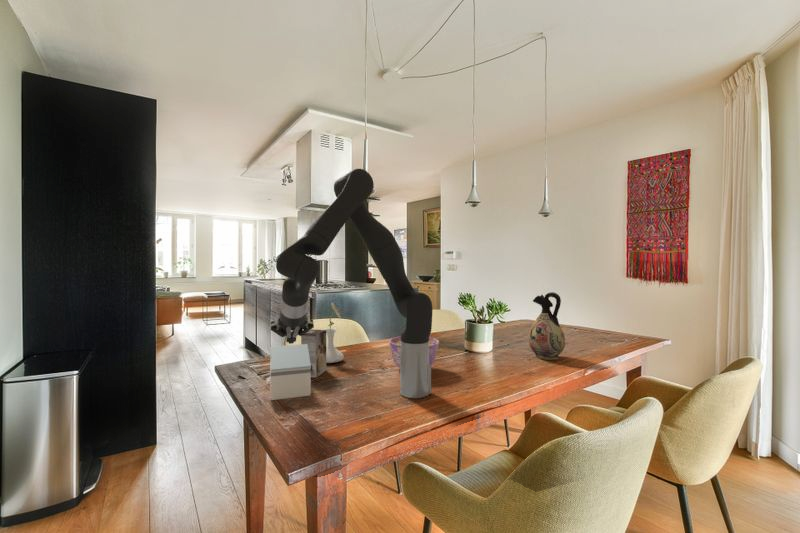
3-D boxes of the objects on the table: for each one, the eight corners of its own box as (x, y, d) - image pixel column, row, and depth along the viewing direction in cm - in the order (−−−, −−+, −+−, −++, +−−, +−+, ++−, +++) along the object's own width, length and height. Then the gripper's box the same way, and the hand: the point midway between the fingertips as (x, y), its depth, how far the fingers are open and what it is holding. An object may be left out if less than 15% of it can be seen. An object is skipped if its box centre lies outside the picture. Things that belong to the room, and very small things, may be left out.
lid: (307, 345, 124) (307, 343, 124) (310, 367, 115) (310, 365, 114) (270, 348, 120) (270, 346, 119) (270, 371, 110) (270, 369, 110)
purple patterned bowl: (385, 376, 134) (385, 345, 134) (392, 361, 154) (392, 334, 154) (438, 378, 132) (439, 347, 132) (439, 363, 152) (439, 336, 152)
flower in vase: (341, 365, 148) (341, 304, 148) (313, 365, 148) (314, 304, 148) (346, 357, 161) (346, 301, 161) (321, 356, 161) (321, 301, 161)
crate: (306, 384, 125) (306, 358, 125) (310, 395, 115) (310, 367, 114) (270, 388, 121) (270, 361, 121) (270, 400, 110) (270, 371, 110)
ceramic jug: (521, 357, 163) (522, 291, 163) (537, 351, 174) (538, 289, 173) (559, 365, 151) (560, 294, 150) (574, 358, 161) (575, 292, 161)
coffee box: (311, 369, 142) (311, 329, 142) (326, 370, 141) (327, 329, 141) (300, 376, 133) (300, 333, 133) (316, 377, 132) (317, 334, 132)
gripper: (316, 296, 106) (311, 330, 118) (269, 297, 102) (268, 332, 113) (319, 316, 101) (313, 349, 113) (269, 319, 97) (268, 353, 108)
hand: (290, 341), depth 113 cm, fingers closed
